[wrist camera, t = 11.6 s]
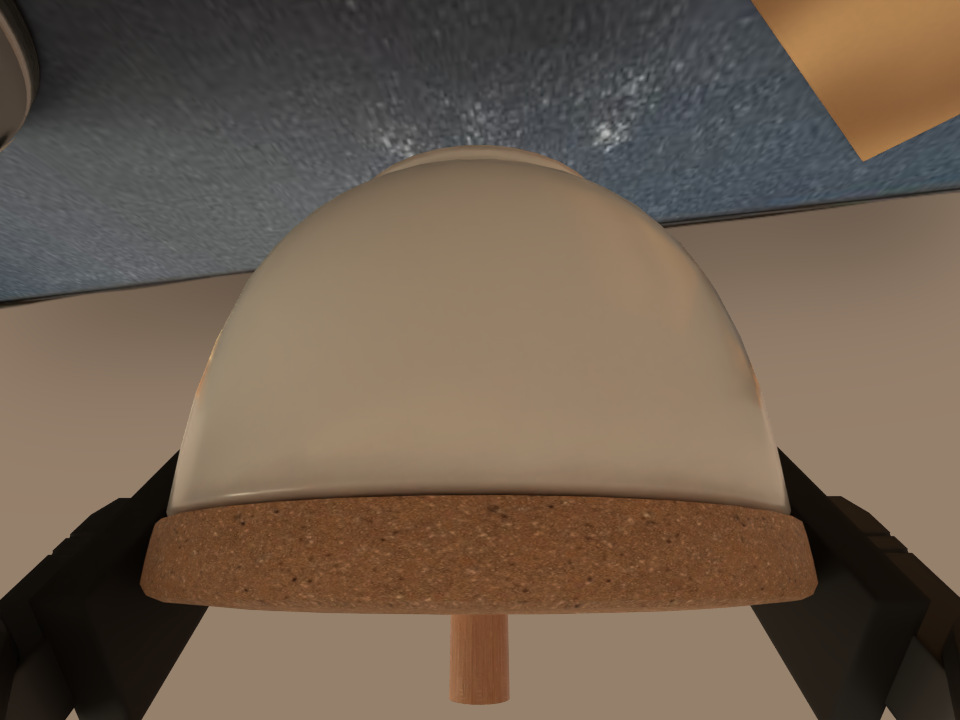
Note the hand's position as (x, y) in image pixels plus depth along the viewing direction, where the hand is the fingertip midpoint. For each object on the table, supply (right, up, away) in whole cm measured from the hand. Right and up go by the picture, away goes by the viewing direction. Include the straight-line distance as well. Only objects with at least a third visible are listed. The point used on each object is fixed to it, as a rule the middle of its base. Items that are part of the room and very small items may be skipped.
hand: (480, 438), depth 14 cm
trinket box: (0, +5, -1) cm, 5 cm away
